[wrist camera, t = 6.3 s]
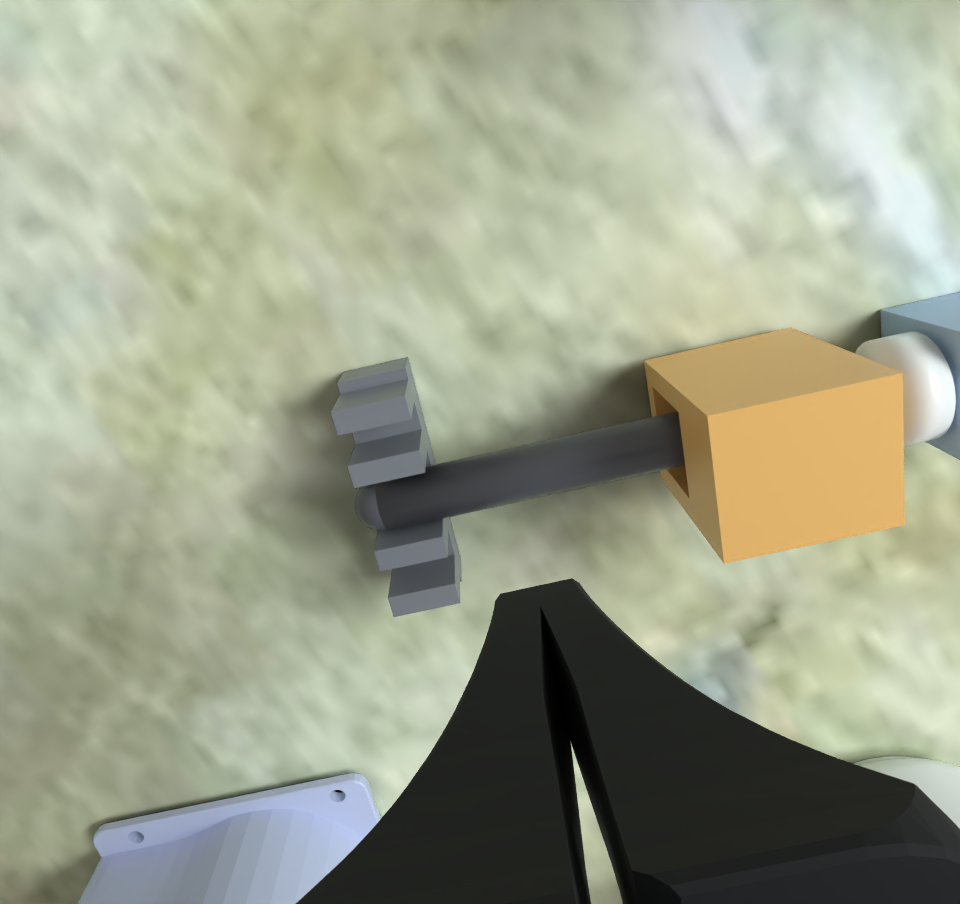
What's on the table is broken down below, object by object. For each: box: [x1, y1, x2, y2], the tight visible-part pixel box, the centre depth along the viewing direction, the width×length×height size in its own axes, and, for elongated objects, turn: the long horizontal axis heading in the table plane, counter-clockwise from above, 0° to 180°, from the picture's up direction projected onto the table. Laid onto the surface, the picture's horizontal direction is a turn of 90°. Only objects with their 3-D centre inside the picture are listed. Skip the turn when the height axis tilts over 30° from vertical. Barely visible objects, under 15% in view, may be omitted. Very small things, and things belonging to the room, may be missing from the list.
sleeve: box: [644, 328, 905, 563], centre depth 17 cm, size 4×4×5 cm
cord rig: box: [331, 292, 960, 617], centre depth 19 cm, size 18×6×3 cm, turn 102°
